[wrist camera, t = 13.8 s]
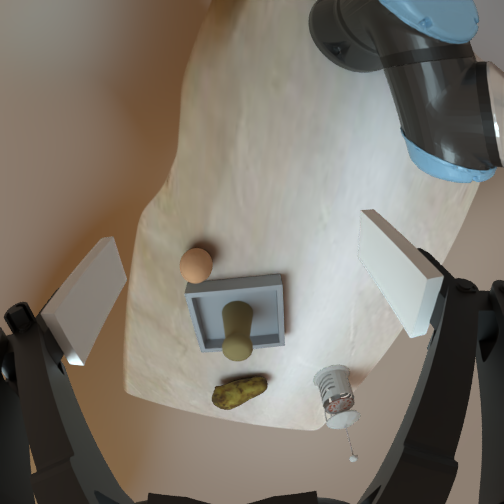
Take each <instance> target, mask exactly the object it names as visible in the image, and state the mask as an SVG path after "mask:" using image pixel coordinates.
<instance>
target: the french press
mask: <svg viewBox="0 0 504 504" xmlns="http://www.w3.org/2000/svg"><path fill="white" fill-rule="evenodd" d="M349 374H350V371H349V368H347V367H346V366H344V365H332V366H329V367H326V368H324V369H322V370H320V371H319V372H318V373H317V374H316V375H315V376H314V379H313V382H314V384H315V385H316V386H318V387H319V390H320V394H321V398H322V403H323V407H324V408H325V418H326V412H327V413H329V414H331V418H329V419H328V421H327V418H326V421H327V426H328V427H329V428H332V429H343V428H346V432H347V427H349V426H351V425H352V424H354V423H355V422H356V421H357V420H359V418H360V416H361V415H360V413H359V412H357V411H356V410H349V409H350V408H351V407H352V406H353V405H354V395H353V392H352V389H351V388H350V383H349V380H348V376H349ZM326 389H329V390H328V391H326ZM340 393H345V394H343V395H340ZM348 393H350V394H349V396H348V397H346V398H341V397H344V396H346V395H348ZM351 394H352V398H350V396H351ZM330 397H331V400H332V402H331V403H329V399H328V398H330ZM332 414H335V415H333V416H332ZM347 435H348V432H347ZM348 439H349V436H348ZM349 443H350V439H349ZM350 447H351V443H350ZM351 451H352V447H351ZM352 455H353V451H352ZM349 459H350V461H352V462H354V461H357V459H358V455H353V456H351V457H350V458H349Z"/></svg>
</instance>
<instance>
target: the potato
mask: <svg viewBox="0 0 504 504" xmlns="http://www.w3.org/2000/svg"><path fill="white" fill-rule="evenodd" d="M267 385H268V384H267V380H266V379H265V378H263V377H258V376H256V377H253V378H248V379H240V380H236V381H233V382H231V383H228V384H226V385H222V386H216V387H215V390H214V393H213V395H212V402H213V404H214V405H215V406H217V407H219V408H220V409H224V410H229V409H233V408H235V407H237V406H239V405H241V404H243V403H245V402H246V401H248V400H249V399H251V398H254V397H256V396H258V395H260V394H261V393H263V392H264V391H265V390H266V389H267Z"/></svg>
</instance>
